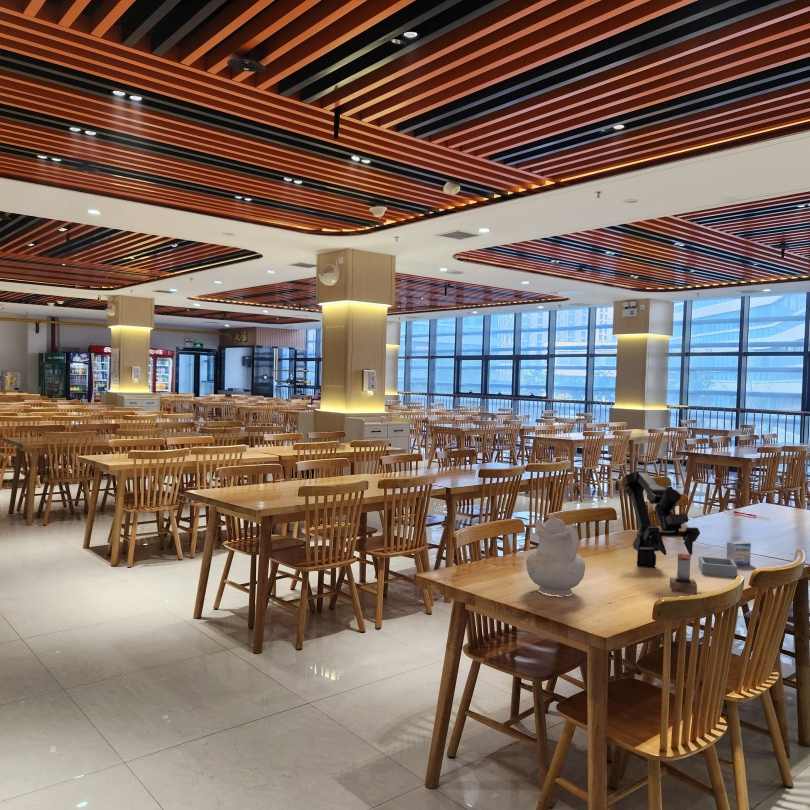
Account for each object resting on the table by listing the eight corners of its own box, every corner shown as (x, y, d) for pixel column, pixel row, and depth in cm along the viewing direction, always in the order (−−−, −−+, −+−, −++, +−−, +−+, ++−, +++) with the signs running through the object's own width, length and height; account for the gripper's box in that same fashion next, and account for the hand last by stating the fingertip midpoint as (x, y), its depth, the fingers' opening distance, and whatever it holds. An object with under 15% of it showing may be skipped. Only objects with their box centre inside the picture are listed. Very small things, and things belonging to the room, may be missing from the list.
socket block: (671, 591, 240) (671, 582, 239) (669, 585, 247) (670, 577, 247) (696, 594, 237) (697, 585, 237) (694, 587, 245) (694, 579, 245)
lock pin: (677, 590, 241) (678, 556, 240) (675, 587, 245) (677, 553, 245) (690, 592, 240) (691, 557, 239) (688, 588, 244) (690, 554, 243)
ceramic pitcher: (601, 601, 230) (607, 525, 231) (558, 605, 219) (565, 525, 220) (553, 585, 248) (559, 514, 249) (512, 588, 238) (518, 514, 238)
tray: (702, 574, 264) (702, 563, 264) (698, 566, 276) (698, 556, 276) (736, 577, 261) (737, 566, 261) (731, 569, 272) (732, 559, 272)
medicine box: (733, 565, 278) (734, 544, 278) (725, 562, 283) (726, 541, 282) (750, 564, 281) (751, 543, 280) (742, 562, 285) (743, 540, 285)
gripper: (647, 504, 251) (659, 541, 240) (698, 505, 252) (712, 542, 241) (638, 522, 259) (649, 559, 248) (687, 522, 260) (701, 559, 249)
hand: (678, 554), depth 246 cm, fingers open, 9 cm apart
